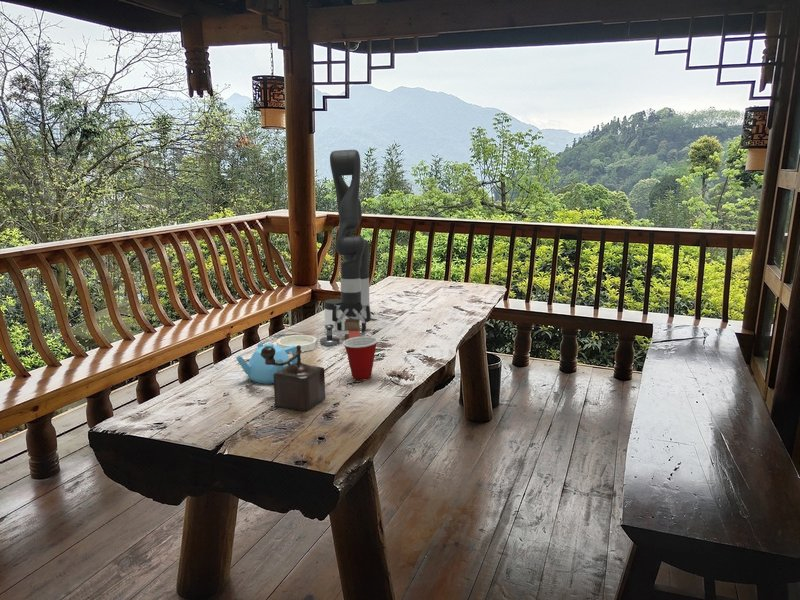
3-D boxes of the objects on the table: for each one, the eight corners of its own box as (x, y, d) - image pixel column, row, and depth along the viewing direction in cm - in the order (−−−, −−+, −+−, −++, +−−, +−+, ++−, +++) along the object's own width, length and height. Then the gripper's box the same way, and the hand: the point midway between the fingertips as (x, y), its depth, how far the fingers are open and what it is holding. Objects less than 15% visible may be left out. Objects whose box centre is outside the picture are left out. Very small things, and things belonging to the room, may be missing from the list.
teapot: (282, 388, 175) (280, 353, 173) (236, 384, 179) (233, 349, 177) (303, 371, 190) (302, 339, 187) (260, 367, 194) (258, 335, 191)
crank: (333, 341, 218) (333, 331, 218) (333, 340, 220) (333, 330, 219) (359, 340, 220) (359, 330, 219) (359, 339, 221) (359, 329, 220)
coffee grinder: (293, 392, 172) (290, 332, 168) (326, 398, 168) (324, 337, 164) (260, 413, 158) (256, 348, 154) (295, 419, 154) (292, 353, 150)
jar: (329, 335, 230) (329, 304, 227) (320, 330, 237) (319, 300, 234) (350, 331, 235) (349, 301, 232) (340, 326, 241) (339, 297, 239)
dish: (272, 344, 218) (272, 337, 217) (309, 339, 224) (309, 333, 223) (283, 355, 205) (283, 348, 205) (322, 349, 212) (322, 342, 211)
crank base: (317, 342, 221) (316, 324, 219) (335, 339, 224) (334, 322, 222) (323, 347, 215) (323, 329, 213) (342, 344, 218) (341, 326, 216)
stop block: (346, 336, 228) (346, 319, 226) (359, 336, 227) (359, 319, 226) (344, 340, 223) (344, 322, 221) (358, 340, 223) (357, 322, 221)
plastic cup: (348, 370, 191) (347, 334, 188) (381, 372, 189) (381, 335, 186) (339, 382, 180) (338, 344, 177) (374, 384, 178) (373, 345, 176)
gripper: (371, 288, 224) (371, 329, 228) (333, 287, 225) (334, 329, 228) (369, 292, 217) (369, 335, 220) (330, 291, 218) (331, 334, 221)
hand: (351, 332), depth 224 cm, fingers open, 8 cm apart
